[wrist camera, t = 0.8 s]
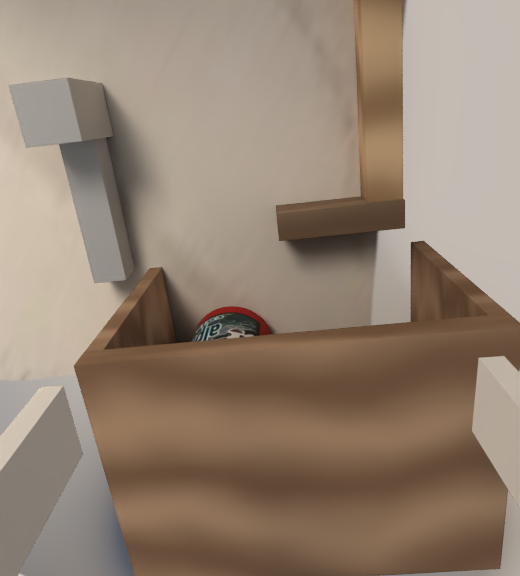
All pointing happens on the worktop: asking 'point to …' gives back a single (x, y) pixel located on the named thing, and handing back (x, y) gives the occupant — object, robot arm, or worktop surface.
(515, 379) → the robot arm
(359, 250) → the worktop surface
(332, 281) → the worktop surface
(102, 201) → the grey hooked tool
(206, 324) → the beverage can
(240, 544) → the shelf
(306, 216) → the crook tool
